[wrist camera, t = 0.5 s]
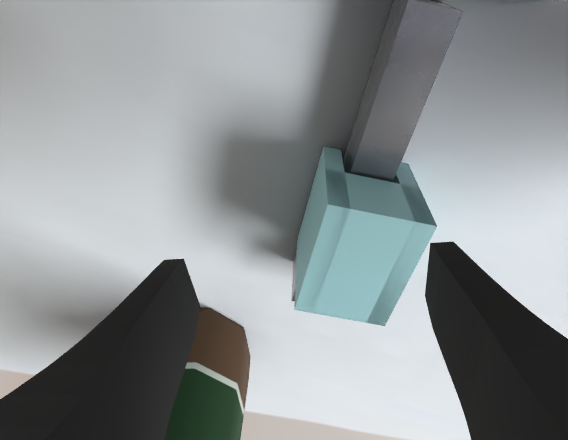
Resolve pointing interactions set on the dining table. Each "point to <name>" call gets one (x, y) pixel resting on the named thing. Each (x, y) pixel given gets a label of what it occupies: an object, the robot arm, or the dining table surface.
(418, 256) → the block
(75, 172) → the dining table surface
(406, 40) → the rail
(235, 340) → the beer bottle
